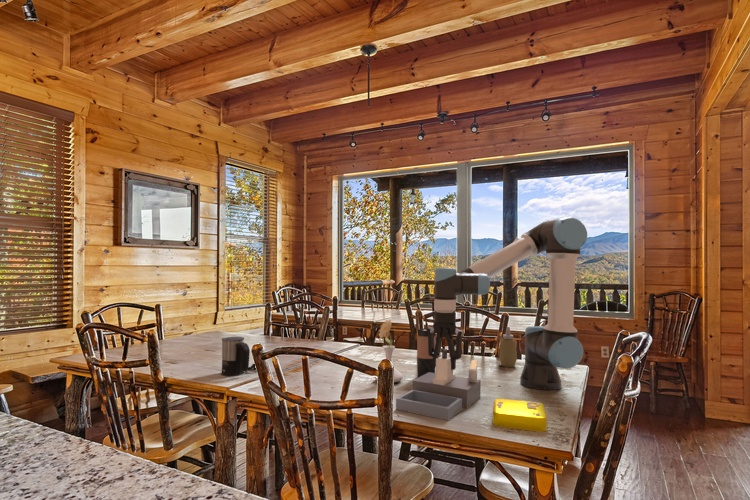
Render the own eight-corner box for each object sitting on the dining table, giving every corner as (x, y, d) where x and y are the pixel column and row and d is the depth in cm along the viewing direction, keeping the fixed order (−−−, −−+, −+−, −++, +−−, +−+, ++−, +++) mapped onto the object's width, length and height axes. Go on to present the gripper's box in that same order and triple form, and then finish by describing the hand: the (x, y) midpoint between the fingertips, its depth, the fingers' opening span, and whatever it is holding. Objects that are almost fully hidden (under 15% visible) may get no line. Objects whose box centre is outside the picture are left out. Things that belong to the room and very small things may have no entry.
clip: (477, 383, 152) (477, 371, 152) (468, 382, 152) (468, 370, 153) (478, 371, 169) (478, 360, 169) (470, 370, 169) (470, 359, 170)
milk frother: (215, 375, 181) (216, 339, 181) (238, 366, 196) (239, 333, 196) (246, 378, 177) (246, 341, 177) (266, 369, 192) (267, 335, 192)
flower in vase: (374, 377, 181) (375, 316, 182) (402, 377, 181) (402, 317, 181) (373, 386, 168) (374, 320, 169) (403, 386, 168) (404, 321, 168)
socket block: (480, 397, 156) (480, 380, 156) (467, 408, 144) (467, 389, 144) (428, 388, 166) (428, 372, 167) (412, 397, 154) (412, 380, 155)
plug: (455, 386, 158) (455, 347, 159) (443, 394, 149) (444, 352, 149) (444, 384, 160) (445, 346, 161) (432, 392, 151) (433, 351, 151)
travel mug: (434, 381, 177) (435, 331, 177) (415, 379, 178) (416, 330, 179) (436, 376, 184) (436, 328, 185) (417, 375, 186) (418, 327, 186)
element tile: (494, 411, 143) (494, 396, 143) (543, 416, 139) (543, 401, 139) (492, 427, 129) (492, 411, 129) (547, 434, 124) (547, 417, 124)
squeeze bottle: (519, 365, 206) (519, 326, 206) (514, 368, 199) (514, 329, 199) (501, 363, 210) (502, 325, 210) (496, 366, 203) (497, 327, 204)
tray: (462, 409, 143) (462, 398, 143) (448, 420, 133) (448, 408, 133) (412, 399, 152) (412, 389, 152) (396, 409, 142) (396, 398, 142)
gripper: (471, 311, 154) (471, 378, 154) (427, 308, 163) (426, 372, 162) (464, 314, 148) (464, 383, 147) (418, 310, 157) (417, 376, 156)
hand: (444, 377), depth 155 cm, fingers closed on plug, 4 cm apart
